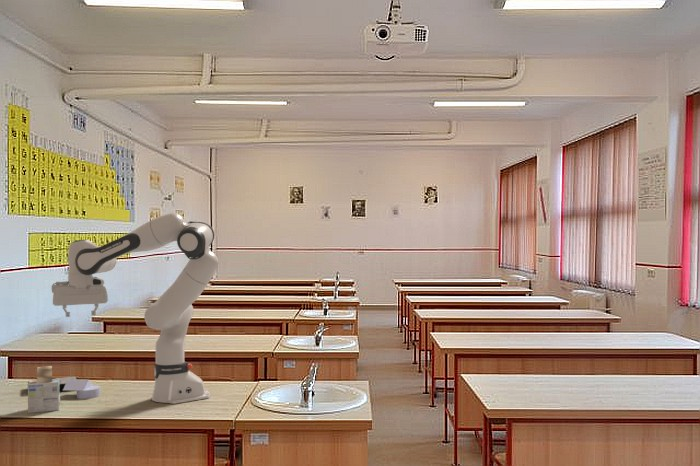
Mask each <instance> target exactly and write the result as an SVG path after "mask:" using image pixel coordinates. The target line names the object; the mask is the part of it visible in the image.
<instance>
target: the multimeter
mask: <svg viewBox="0 0 700 466" xmlns="http://www.w3.org/2000/svg"><path fill="white" fill-rule="evenodd" d="M52 379H59V382H60V393H64V392H75V391H76V390H63V389H64V387H65V385H66V382H67V380H68V379H78V378H77V376H68V377H65V376H64V377H57V378H53V377H52ZM33 381H37V379H36V380H33ZM28 383H29V381H27V384H28Z"/></svg>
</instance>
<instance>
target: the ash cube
mask: <svg viewBox="0 0 700 466" xmlns="http://www.w3.org/2000/svg"><path fill="white" fill-rule="evenodd" d="M36 377H37V379H36V380H37V383H44V382H52V379H53V365H45V366H37V368H36Z"/></svg>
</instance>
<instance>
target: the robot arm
mask: <svg viewBox="0 0 700 466" xmlns="http://www.w3.org/2000/svg"><path fill="white" fill-rule="evenodd" d="M214 239H215V231H214V229H213V227H212V226H211V225H210V224H208V223H206V222H202V221H201V222H200V221H193V220H192V221H188V222H186V221H185V219H184V218H183V216H182V215H180V214H179V213H177V212H170V213H167V214H163V215H160V216H158V217H155V218H152V219H151V220H149V221H147V222H145V223H143V224H142V225H140V226H139V227H137V228H135V229H133V230H132V231H130V232H128V233H126V234H125V235H123V236H121V237H119V238H116V239H114V240H113V241H112V240H111V241H110V242H107V243H106V244H103V245H97V244H95V243H94V242H93V241H91V240H90V239H80V240H78V239H77V240H74V241H72V242H71V243H70V244H69V246H68V252H67V253H68V254H67V255H68V256H67V263H68V275H67V279H68V280H67V281H55V283H53V284H52V285H51V292H52V305H54V306H56V307H58V306H62V310H63V311H64V312H65V318H69V317H71V315H70V314H71V312H70V311H68V310H67V306H77V305H94V309H93V310H91V316H96V311H97V310H98V309H99V304H107V303H108V301H109V298H108V290H107V287H106V286H105V280H104V278H99V277H97V276H93V275H95V274H101V273H106V272H110V271H112V270H113V269H114V268H115V266H116V265H117V258H120V257H121V256H124V255H127V254H131V253H141V252H149V251H153V250H157V249H160V248H163V247H165V246H167V245H168V244H170V243H173V242H176V244H177V247H178V248H179V250H180V251H181V252H182V253H183V254H184V255H185V257H186V258H187V259H189V260H188V262H187V263H186V265H185V266H184V268H183V269H182V271H181V272H179V273H180V274H179V275H178V277H176V278H175V281H174V282H173V283H172V284H171V285H170V286H169V287H168V289H166V290H165V291H164V293H163V294H162V295H160V296H159V298H158V299H156V301H155V302H154V303H152V304H151V305H150V306H148V307H147V309H146V310H145V312H144V316H143V317H144V321H145V324H146V326H147V327H148V328H150V329H152V330H155V331H160V334H159V336H158V339H157V340H156V342H155V363H154V368H153V370H154V371H153V372H154V387H153V393H152V397H151V400H152V401H153V402H157V403H161V404H162V403H165V404H181V403H187V402H193V401H198V400H205V399H209V398H210V397H211V392H210V391H209V390H207V389H205V384H204V382H203V379H202V378H201V377H199V376H198V375H196V374H195V373H193V372H192V371H191V369H193V364H192V363H189V362H187V361H185V344H186V343H185V342H186V336H187V332H188V329H189V324H190V321H191V319H192V318H193V316H194V306H193V305H192V304H193V303H195V301H197V300H198V299H199V298H200V296H201V294H202V293H203V292H204V290H205V288H206V287H207V286H208V285H209V283H210V281H212V278H213V277H214V275H215V273H216V271H217V268H218V266H219V265H220V262H219V261H220V260H219V258H218V256H217V255H216V254H215V253H214V252H213V251H212V250H211V249H210V246H211V245H212V244H213V242H214Z"/></svg>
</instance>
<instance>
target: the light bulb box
mask: <svg viewBox="0 0 700 466" xmlns="http://www.w3.org/2000/svg"><path fill="white" fill-rule="evenodd" d="M28 382H29V383H28ZM28 382H27V414H32V413H34V414H35V413H43V412H53V411H59V410H60V407H61V392H60V382H59V379H53V378H52V382H44V383H37V381H34V380H29V381H28Z"/></svg>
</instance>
